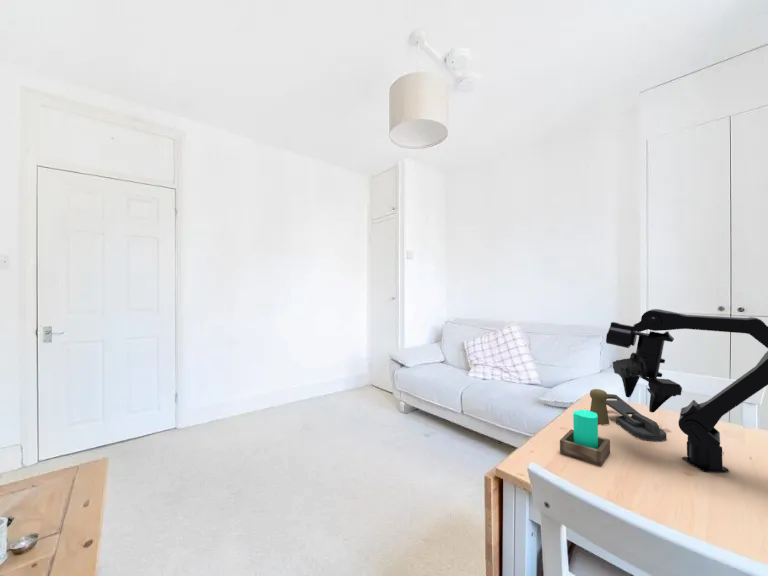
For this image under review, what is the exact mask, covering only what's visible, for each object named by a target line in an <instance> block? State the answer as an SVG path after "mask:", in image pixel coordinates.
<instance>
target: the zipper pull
mask: <svg viewBox="0 0 768 576" xmlns="http://www.w3.org/2000/svg"><path fill="white" fill-rule="evenodd" d="M606 406H608V407H610V408H611V409H612V410H614V411H615V412H616V413H618V414H620V415H619V416H617V417H615V418H616V423H617V424H616V423H615V424H616V425H618V426H619V425H620V426H621V427H620V426H619V427H620V428H621V429H623V430H624V431H626V432H628V433H629V434H630V435H631V436H632V437H635V438H637V439H640V440H642V441H646V442H664V441H667V432H666V431H665V430H664V429H662V428H660V427H659V426H660V425H659V424H658V422H656V421H655V420H653V419H651V418H649V417H647V416H645V415H643V414H641V413H640V412H639V411H637V410H636V409H635V408H634V407H633V406H631V405H630V404H628V403H627V402H626V401H624V400H623V399H622V398H621V397H620V396H618V395H617V394H614V393H613V394H612V393H607V400H606ZM630 415H631V416H630Z"/></svg>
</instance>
